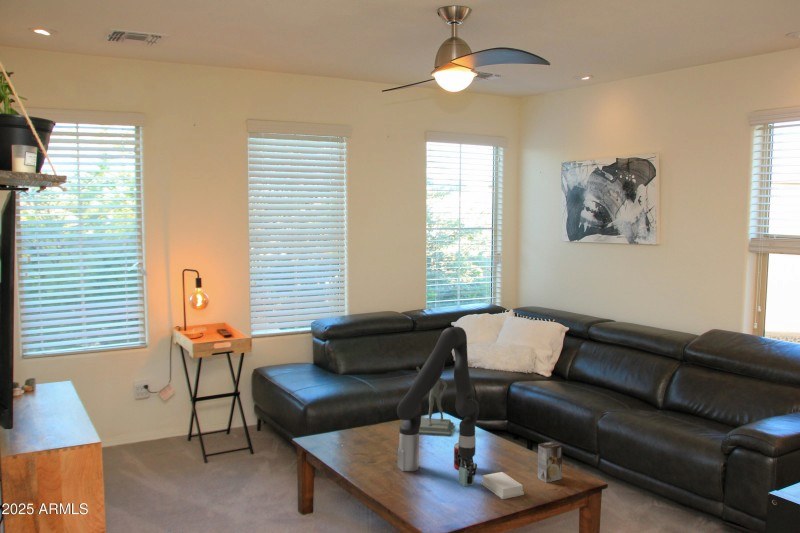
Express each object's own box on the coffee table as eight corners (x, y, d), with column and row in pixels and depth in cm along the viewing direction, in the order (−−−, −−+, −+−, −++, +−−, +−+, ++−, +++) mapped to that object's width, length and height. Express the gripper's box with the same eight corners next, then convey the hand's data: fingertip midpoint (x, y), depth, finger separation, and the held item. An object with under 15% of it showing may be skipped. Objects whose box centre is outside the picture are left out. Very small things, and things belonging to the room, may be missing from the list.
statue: (412, 434, 359) (413, 369, 355) (417, 422, 378) (418, 361, 375) (450, 436, 355) (451, 371, 352) (453, 425, 374) (454, 363, 371)
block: (464, 486, 291) (464, 470, 291) (458, 482, 296) (458, 466, 295) (474, 484, 293) (474, 469, 293) (468, 480, 298) (468, 465, 297)
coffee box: (552, 474, 305) (553, 440, 304) (562, 479, 299) (563, 444, 298) (536, 478, 301) (537, 443, 299) (546, 483, 295) (547, 448, 294)
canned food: (472, 466, 314) (472, 443, 313) (467, 472, 307) (467, 449, 306) (457, 463, 317) (457, 441, 316) (451, 469, 310) (451, 446, 309)
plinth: (502, 499, 278) (502, 490, 278) (481, 483, 294) (481, 475, 293) (524, 494, 283) (524, 485, 283) (502, 479, 298) (502, 471, 298)
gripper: (451, 440, 298) (451, 476, 300) (467, 450, 285) (467, 488, 287) (466, 437, 301) (465, 474, 303) (482, 448, 288) (482, 486, 290)
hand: (466, 481), depth 295 cm, fingers closed on block, 5 cm apart
